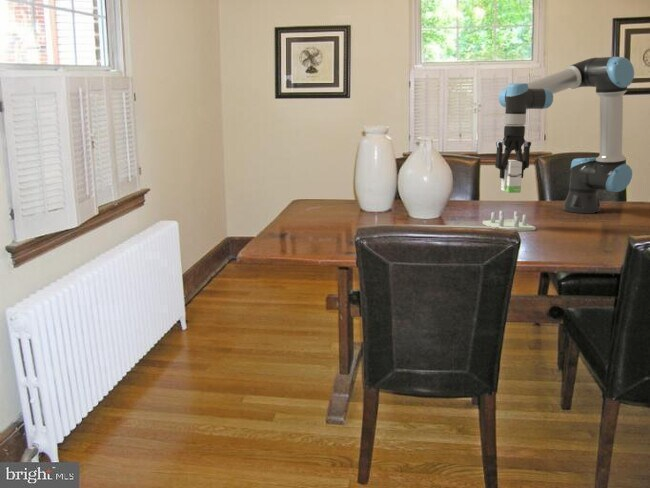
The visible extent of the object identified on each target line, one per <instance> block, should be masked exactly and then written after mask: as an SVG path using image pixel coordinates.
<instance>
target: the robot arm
mask: <svg viewBox="0 0 650 488" xmlns="http://www.w3.org/2000/svg"><path fill="white" fill-rule="evenodd" d="M634 79H635V69H634V65H633V64H632V62H631V61H630V60H629V59H628V58H626V57H623V56H607V57H606V56H605V57H604V56H603V57H591V58H587V59H584V60H582V61H579V62H576V63H574V64H570V65H568V66H566V67H565V68H564V69H563V70H561V71H559V72H555V73H553V74H549V75H547V76H544V77H542V78H538V79H536V80H535V79H534V80H533V81H530V82H527V83H526V82H525V83H524V82H521V83H518V82H514V83H513V82H511V83H508V84H507V86H506V88H502V89H501V91H500V92H499V94H498V103H499V104H500V106H502V107H504V108H505V114H504V115H505V116H504V124H505V126H504V127H503V128H504V129H503V139H502V140H501V141H496V142H495V146H496V154H495V165H494V167H495V168H496V169H498V170H499V179H501V182H500V188H501V187H504V188H506V181H507V170H505V168H506V165H507V162H508V160H510V159H509V158H510V155H511V153H512V152H513V151H514V153H515V156H516V161H519V162H522V174H521V179H523V178H524V171H526V169H528V168H529V167H530V153H531V152H530V151H531V150H530V149H531V146H532V142H531V141H527V140H525V134H526V126H525V125H526V122H527V110H543V109H549V108H550V107H551V106H552V105H553V102H554V94H557V93H559V92H562V91H564V90H565V91H566V90H568V89H572V90H575V89H578V88H582V87H583V88H588V87H591V88H592V87H593V88H595V94H596V95H597V96H599V155H598V157H597V156H596V157H584V158H583V157H579V158H574V159H572V161H571V164H570V170H569V171H570V173H569V186H568V194H567V196H566V198H565V201H564V203H563V207H562V208H563V211H565V212H570V213H576V214H596V213H595V212H598V213H600V212H601V203H600V200H599V195H598V190H600V191H606V192H611V193H613V192H614V193H619V192H620V193H621V192H623V191H624V190H625V189H627V187H628V186H629V185H630V183H631V180H632V178H633V177H632V176H633V169H632V168H631V165H629V164H628V163H627V158H626V157H625V155H623V121H624V120H623V119H624V117H623V115H624V114H623V113H624V110H623V108H624V105H623V104H624V97H623V96H624V95H625V93H626V92H628V87H629V86H630V85H631V84H632V83H633V80H634ZM504 147H505V148H504ZM522 147H523V150H522ZM503 149H504V150H503ZM503 151H504V152H503ZM522 152H523V153H522ZM599 211H600V212H599Z"/></svg>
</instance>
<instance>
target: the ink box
mask: <svg viewBox="0 0 650 488" xmlns="http://www.w3.org/2000/svg"><path fill="white" fill-rule="evenodd" d="M505 170H507V181H506V188H504V187H501V186H500V191H503V192H506V193H508V194H517V193H518V194H520V193H521V189H522V178H521V174H522V162H519V161H517V159H516V160H515V159H508V162H507V165H506V168H505Z"/></svg>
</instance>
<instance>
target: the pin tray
mask: <svg viewBox="0 0 650 488" xmlns="http://www.w3.org/2000/svg"><path fill="white" fill-rule="evenodd" d="M496 213H497V212H496V211H494V212H493V211H492V212H491V216H490V217H491V218H490V220H482V225H485V226H487V227H489V226H491V227H499V228H506V229H514V230H517V231H516V232H527V231H528V232H531V231H536V226H533V225H531V224H528V214H522V220H521V221H520V216H519V211H515V210H514V211H513V218H512V219H505V215H504V213H505V212H504V210H499V213H498V215H499V216H498V219H496V216H497V214H496ZM491 227H490V228H491Z"/></svg>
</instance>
